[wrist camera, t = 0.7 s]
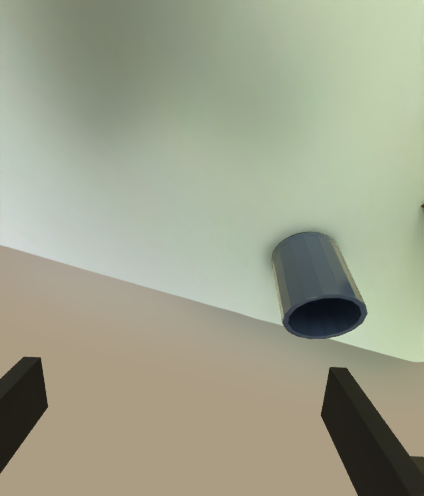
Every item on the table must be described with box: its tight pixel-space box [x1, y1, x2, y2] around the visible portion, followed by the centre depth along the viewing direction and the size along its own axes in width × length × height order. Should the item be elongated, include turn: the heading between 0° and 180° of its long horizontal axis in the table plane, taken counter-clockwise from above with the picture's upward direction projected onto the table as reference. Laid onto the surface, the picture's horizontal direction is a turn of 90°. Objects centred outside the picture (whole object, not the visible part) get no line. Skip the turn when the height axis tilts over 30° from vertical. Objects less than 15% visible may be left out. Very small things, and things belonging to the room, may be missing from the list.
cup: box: [272, 232, 367, 339], centre depth 33 cm, size 9×9×10 cm
